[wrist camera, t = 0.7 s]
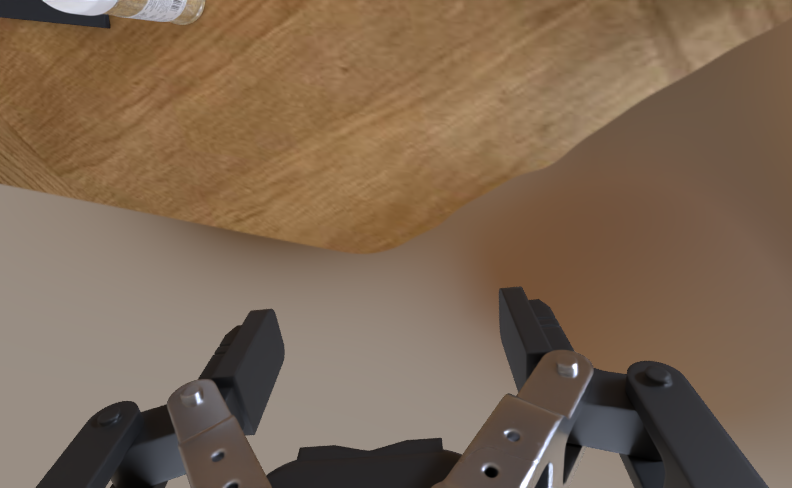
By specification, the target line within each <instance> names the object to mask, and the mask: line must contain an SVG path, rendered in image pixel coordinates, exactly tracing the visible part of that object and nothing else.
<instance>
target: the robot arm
mask: <svg viewBox="0 0 792 488" xmlns="http://www.w3.org/2000/svg"><path fill="white" fill-rule="evenodd" d="M499 321H500V335H501V340H502V344H503V347H504V350H505V353H506V356H507V359H508V362H509V365H510V369H511V371H512V374H513V378H514V381H515V384H516V387H517V390H518V394H517V396H514V395H512V394H506V395H505V396H504V397H503V398H502V400H501V401H500V402H499V404H498V405H497V407H496V408H495V410H494V411H493V412H492V414H491V415H490V417H489V418H488V419H487V421H486V422H485V424H484V425H483V426H482V428H481V429H480V431H479V432H478V433H477V435H476V436H475V438H474V439H473V440H472V442H471V443H470V445H469V446H468V448H467V449H466V450H465V452H464V453H463V455H462V454H459V453H456V452H453V451H449V450H443V446H442V438H433V439H418V440H406V441H402V442H399V443H395V444H392V445H388V446H385V447H382V448H378V449H375V450H371V451H366V450H359V449H353V448H347V447H341V446H335V445H332V446H317V447H303V448H300V449H299V453H298V457H297V460H295V461H292V462H289V463H287V464H284V465H282V466H281V467H279V468H277V469H275V470H274V471H272V472H270V473H269V474H268V475H265V473H264V471H263V469H262V467H261V465H260V463H259V461H258V459H257V458H256V456H255V454H254V452H253V450H252V448H251V446H250V444H249V442H248V440H247V438H246V437H245V435H255V432H256V430H257V428H258V425H259V423H260V420H261V418H262V415H263V412H264V410H265V407H266V405H267V402H268V400H269V397H270V394H271V392H272V389H273V387H274V384H275V382H276V379H277V376H278V374H279V371H280V369H281V366H282V364H283V361H284V343H283V340H282V336H281V332H280V329H279V325H278V322H277V318H276V314H275V312H274V310H273V309H264V310H254V311H250V313H249V314H248V316H247V317H246V319H245V321H244V322H243V324H242V325H239V326H236V327H235V328H234V329H232V330H231V331H230V332H229V333H228V334H226V335H225V337H224V339H223V340H222V342H221V344H220V347H218V348H217V350H216V351H215V355H213V356H212V358H211V359H210V361H209V362H208V364H207V366H206V367H205V369H204V371H203V372H202V374H201V375H200V377H199V379H198V380H195V381H192V382H189V383H187V384H185V385H183V386H181V387H180V388H178V389H177V390H176V391H175V392H174V393H173V394H172V395H171V396H170V397H169V399H168V401H167V404H166V405H164V406H160V407H157V408H153V409H150V410H147V411H144V412H140V410H139V408H138V406H137V404H136V403H134V402H132V401H122V402H118V403H115V404H112V405H110V406H107V407H105V408H104V409H102V410H100V411H99V412H97V413H96V414H95V415H94V416H92V417H91V418H90V419H89V420H88V422H87V423H86V424H85V425H84V427H83V428H82V429H81V430H80V432H79V433H78V434H77V435H76V437H75V438H74V439H73V441H72V442H71V443H70V444H69V446H68V447H67V448H66V450H65V451H64V452H63V453H62V455H61V456H60V457H59V458H58V460H57V461H56V463H55V464H54V465H53V466H52V467H51V469H50V470H49V471H48V472H47V474H46V475H45V476H44V478H43V479H42V480H41V481H40V483H39V484H38V485H37V486H36V488H105V487H106V485H107V484H108V482H109V481H110V479H111V481H112V483H113V484H112V485H111V487H110V488H165V486H166V484H167V482H168V480H171V479H173V478H176V477H179V476H182V475H185V474H187V477H188V480H189V484H190V487H191V488H569V486H570V483H571V481H572V479H573V477H574V474H575V472H576V470H577V467H578V465H579V463H580V461H581V458H582V456H583V454H584V452H585V449H586V447H591V448H595V449H600V450H605V451H610V452H615V453H619V454H620V457H621V459H622V461H623V463H624V465H625V468H626V470H627V472H628V474H629V476H630V479H631V481H632V483H633V485H634V487H635V488H769V487H768V486H767V485H766V483H765V482H764V481H763V479H762V478H761V477H760V476H759V474H758V473H757V471H756V470H755V469H754V467H753V466H752V465H751V464H750V462H749V461H748V460H747V458H746V457H745V456H744V454H743V453H742V452H741V450H740V449H739V448H738V446H737V445H736V444H735V442H734V441H733V440H732V438H731V437H730V436H729V434H727V432H726V431H725V429H724V428H723V427H722V425H721V424H720V423H719V421H718V420H717V419H716V417H715V416H714V415H713V414H712V412H711V411H710V409H709V408H708V407H707V405H706V404H705V403H704V401H703V400H702V399H701V398H700V396H699V395H698V394H697V393H696V391H695V390H694V388H693V387H692V386H691V384H690V383H689V382H688V380H687V379H686V378H685V377H684V375H683V374H682V373H680V372H679V371H678V370H676V369H675V368H673V367H671V366H668V365H666V364H663V363H659V362H654V361H640V362H637V363H634V364H632V365H631V366H630V367H629V368H628V370H627V374H621V373H614V372H607V371H602V370H599V369H596V368H593V365H592V363H591V362H590V361H589V360H588V359H587V358H586V357H585V356H583V355H581V354H579V353H576V352H575V351H574V350H573V348H572V346H571V344H570V342H569V341H568V339H567V337H566V335H565V334H564V332H563V330H562V328H561V326H559V323H558V321H557V319H556V318H555V316H554V314H553V312H552V310H551V309H550V307H549V306H547V305H546V304H545V303H543V302H542V301H540V300H539V299H536V300H528V299H527V296H526V294H525V292H524V290H523V288H522V287H510V288H500V289H499Z"/></svg>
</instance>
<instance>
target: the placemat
mask: <svg viewBox="0 0 792 488" xmlns="http://www.w3.org/2000/svg"><path fill="white" fill-rule="evenodd" d="M0 17H4V18H13V19H23V20H33V21H43V22H52V23H62V24H72V25H81V26H91V27H101V28H110V23H109V16H108V14H100V15H94V16H88V15H79V14H72V13H67V12H63V11H60V10H57V9H55V8H53V7H51V6H50V5H48V4H47V3H45V2H44V1H42V0H0Z"/></svg>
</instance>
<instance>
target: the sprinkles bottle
mask: <svg viewBox="0 0 792 488" xmlns="http://www.w3.org/2000/svg"><path fill="white" fill-rule="evenodd" d="M42 1H44V2H45V3H47V4H48V5H50V6H51V7H53V8H55V9H57V10H60V11H63V12H67V13H72V14H79V15H88V16H94V15H100V14H109V15H114V16H118V17H125V18H134V19H142V20H151V21H159V22H172V23H174V24H178V25H187V24H190V23H192V22H194V21H196V20H197V19H198V18H199V17H200V16H201V14H202V12H203V9H204V6H205V0H42Z"/></svg>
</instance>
